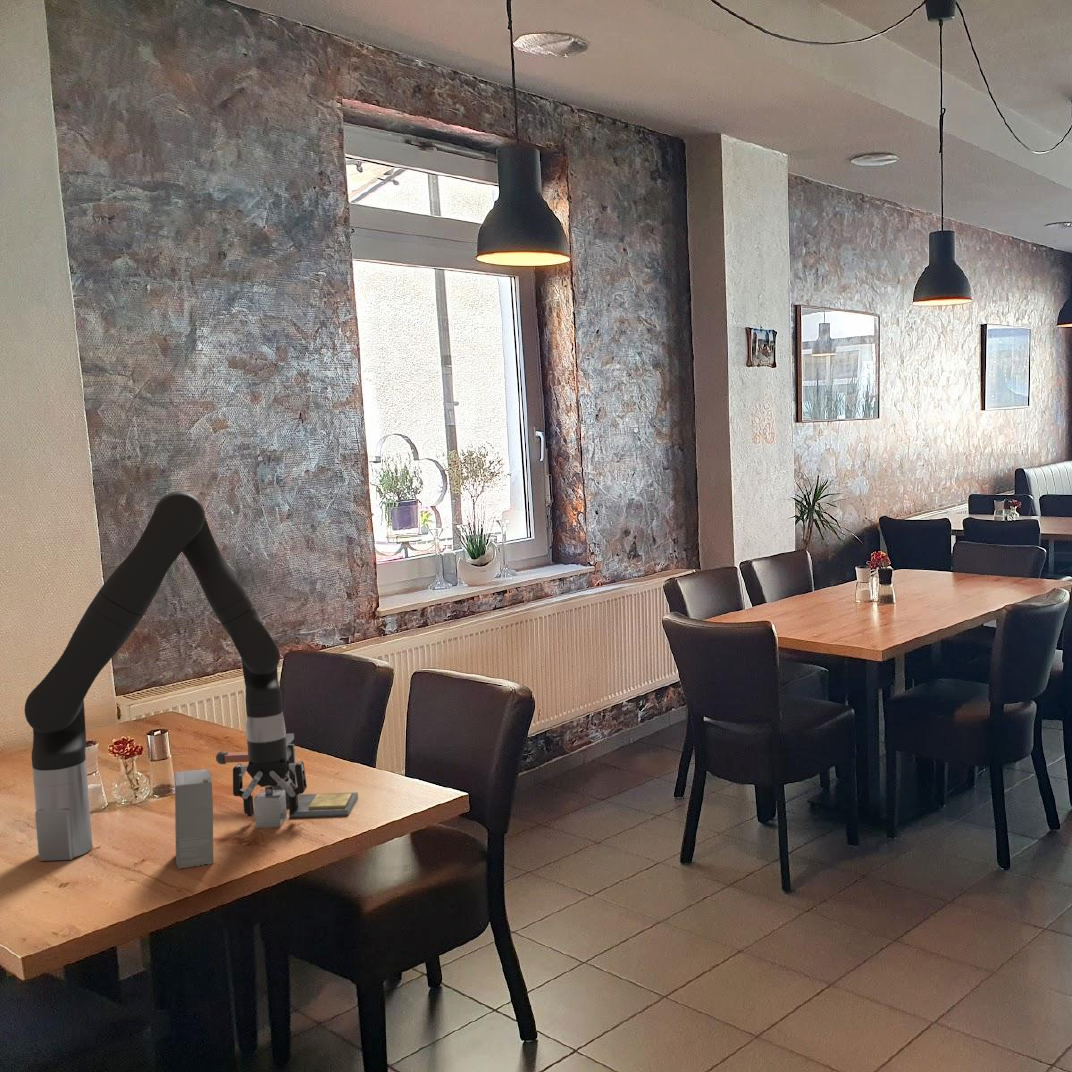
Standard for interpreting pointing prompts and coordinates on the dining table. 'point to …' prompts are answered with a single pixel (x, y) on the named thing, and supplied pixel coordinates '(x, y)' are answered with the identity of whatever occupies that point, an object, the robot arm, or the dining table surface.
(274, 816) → the block
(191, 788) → the skincare box
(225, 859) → the dining table surface
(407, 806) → the dining table surface
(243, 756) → the press lever
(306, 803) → the press bed
